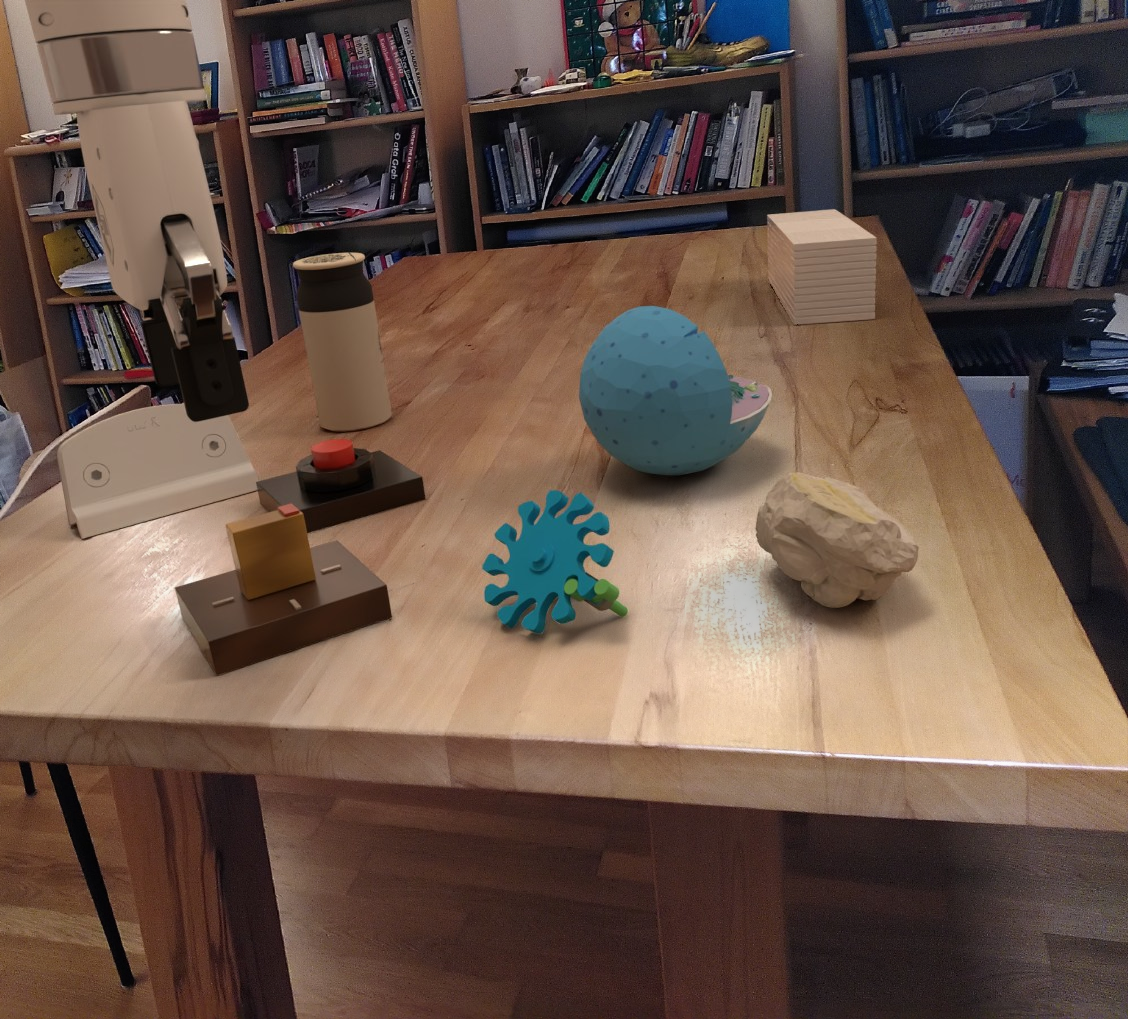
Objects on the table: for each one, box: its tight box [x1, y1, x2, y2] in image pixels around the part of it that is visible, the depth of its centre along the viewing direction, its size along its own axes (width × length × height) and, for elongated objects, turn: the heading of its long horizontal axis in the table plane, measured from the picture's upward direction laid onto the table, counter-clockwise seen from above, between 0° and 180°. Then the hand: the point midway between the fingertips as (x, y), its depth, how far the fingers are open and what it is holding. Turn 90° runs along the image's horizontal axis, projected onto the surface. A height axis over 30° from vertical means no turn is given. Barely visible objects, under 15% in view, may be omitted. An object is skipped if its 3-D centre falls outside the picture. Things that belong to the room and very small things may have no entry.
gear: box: [481, 489, 629, 635], centre depth 70 cm, size 11×6×10 cm
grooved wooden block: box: [766, 208, 878, 326], centre depth 153 cm, size 32×11×11 cm, turn 176°
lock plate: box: [174, 539, 393, 676], centre depth 72 cm, size 12×10×3 cm
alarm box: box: [256, 447, 427, 534], centre depth 92 cm, size 12×10×4 cm
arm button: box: [310, 438, 356, 469], centre depth 91 cm, size 4×4×2 cm
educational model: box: [578, 305, 773, 477], centre depth 91 cm, size 16×19×15 cm
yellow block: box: [224, 503, 316, 600], centre depth 71 cm, size 5×2×5 cm, turn 121°
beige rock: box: [755, 471, 920, 609], centre depth 68 cm, size 12×8×10 cm
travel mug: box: [292, 252, 393, 433], centre depth 113 cm, size 8×8×18 cm
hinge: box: [56, 403, 260, 540], centre depth 95 cm, size 17×5×10 cm, turn 124°
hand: (200, 397), depth 60 cm, fingers open, 9 cm apart
